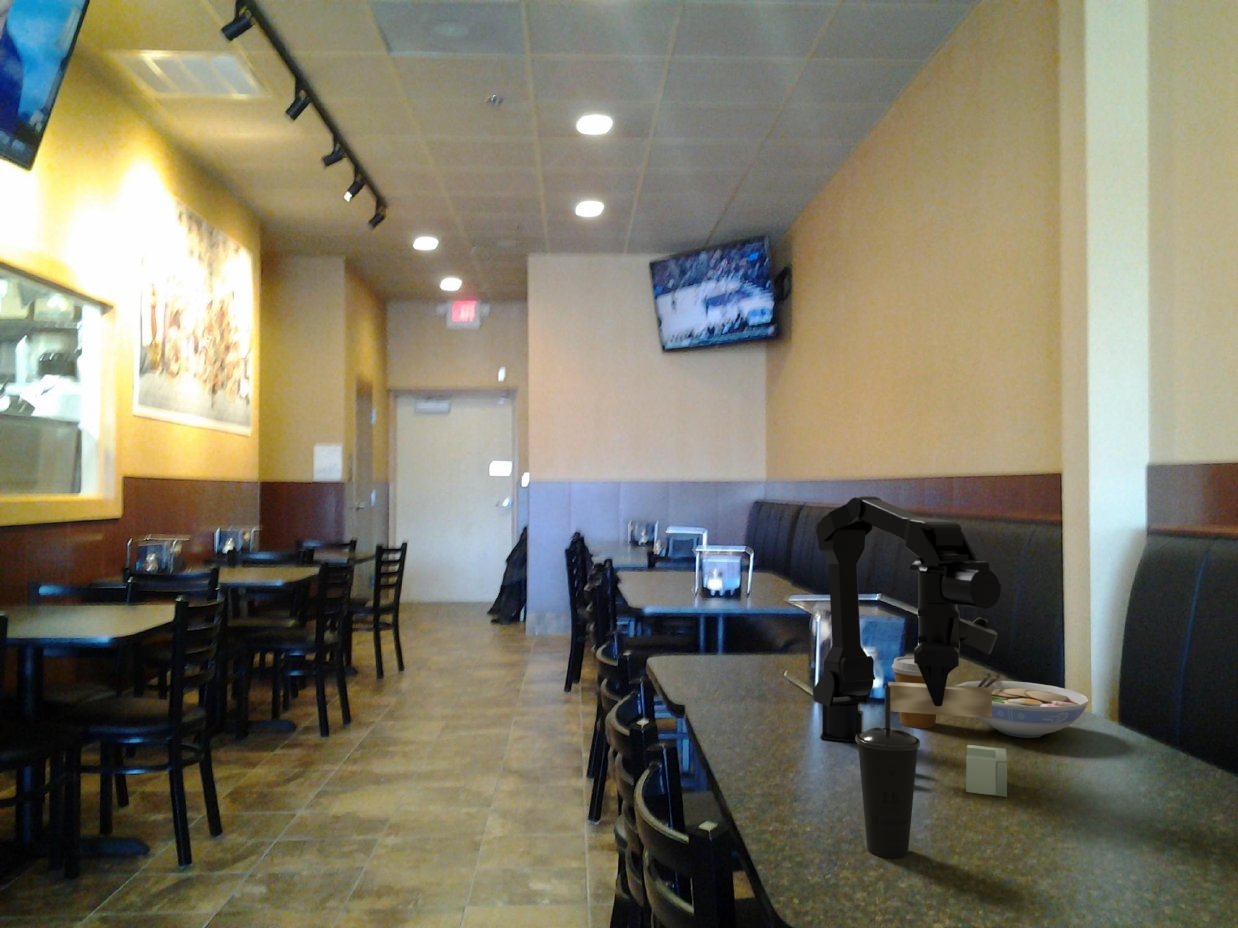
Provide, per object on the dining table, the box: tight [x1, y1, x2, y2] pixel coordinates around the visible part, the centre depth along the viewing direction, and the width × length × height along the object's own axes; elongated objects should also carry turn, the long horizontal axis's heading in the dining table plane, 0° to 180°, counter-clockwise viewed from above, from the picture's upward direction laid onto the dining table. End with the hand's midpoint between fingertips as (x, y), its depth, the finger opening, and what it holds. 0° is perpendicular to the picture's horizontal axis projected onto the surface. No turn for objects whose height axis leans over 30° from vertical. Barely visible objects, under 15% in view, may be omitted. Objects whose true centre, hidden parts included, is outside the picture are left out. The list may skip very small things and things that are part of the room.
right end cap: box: [965, 744, 1008, 798], centre depth 140 cm, size 6×8×5 cm
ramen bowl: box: [955, 672, 1090, 739], centre depth 173 cm, size 25×23×8 cm
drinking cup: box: [855, 685, 921, 859], centre depth 115 cm, size 8×8×20 cm
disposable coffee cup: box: [891, 656, 937, 729], centre depth 178 cm, size 10×10×12 cm
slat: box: [887, 681, 992, 718], centre depth 145 cm, size 15×3×4 cm, turn 73°
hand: (938, 703), depth 145 cm, fingers closed on slat, 3 cm apart
